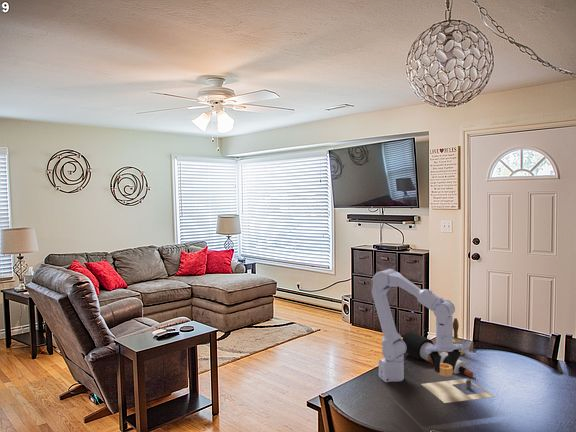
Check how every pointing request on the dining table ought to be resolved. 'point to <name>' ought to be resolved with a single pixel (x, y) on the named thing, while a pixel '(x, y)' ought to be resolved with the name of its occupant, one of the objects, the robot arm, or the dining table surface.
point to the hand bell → (456, 334)
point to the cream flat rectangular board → (454, 391)
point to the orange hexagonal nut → (445, 369)
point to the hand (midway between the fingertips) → (444, 370)
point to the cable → (417, 350)
